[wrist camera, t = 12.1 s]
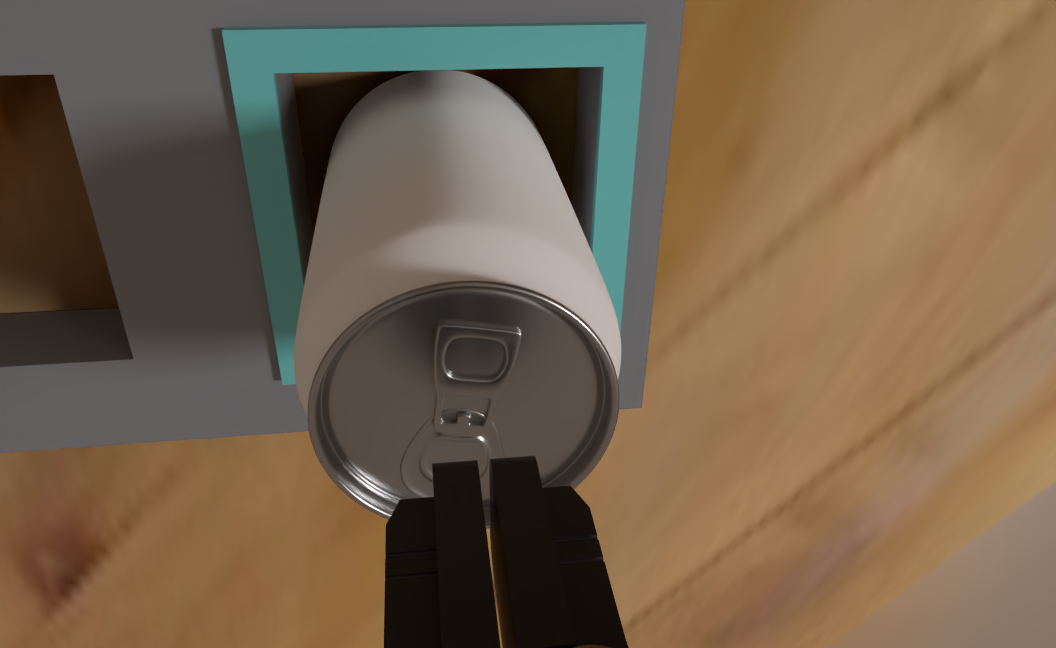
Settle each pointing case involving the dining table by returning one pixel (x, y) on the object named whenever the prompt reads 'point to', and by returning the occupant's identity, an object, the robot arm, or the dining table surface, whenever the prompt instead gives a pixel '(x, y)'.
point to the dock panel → (284, 188)
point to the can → (450, 299)
